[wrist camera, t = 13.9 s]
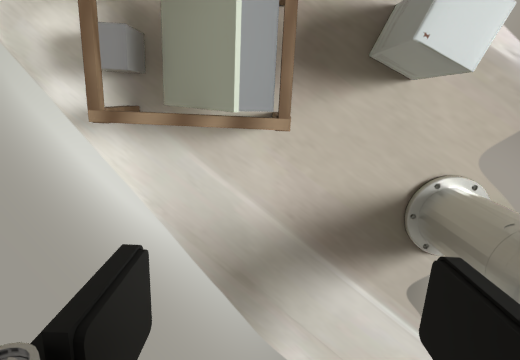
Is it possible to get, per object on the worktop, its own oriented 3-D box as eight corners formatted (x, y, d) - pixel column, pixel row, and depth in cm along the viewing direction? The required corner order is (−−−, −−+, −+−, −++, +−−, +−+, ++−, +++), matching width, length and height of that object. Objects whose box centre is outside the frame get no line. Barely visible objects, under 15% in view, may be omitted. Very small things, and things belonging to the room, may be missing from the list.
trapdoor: (280, -22, 31) (237, -40, 27) (273, 112, 34) (233, 112, 31) (198, 5, 41) (160, -5, 38) (199, 105, 45) (163, 105, 41)
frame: (291, -9, 41) (303, -47, 30) (283, 124, 45) (291, 132, 34) (120, -17, 40) (70, -59, 30) (128, 117, 44) (87, 123, 34)
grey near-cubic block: (81, 21, 36) (105, 31, 42) (85, 67, 37) (108, 71, 43) (125, 23, 36) (143, 33, 42) (127, 69, 37) (145, 73, 43)
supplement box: (412, 81, 44) (473, 75, 31) (366, 55, 43) (410, 38, 30) (444, 29, 42) (520, 1, 30) (397, 1, 41) (455, -40, 29)
